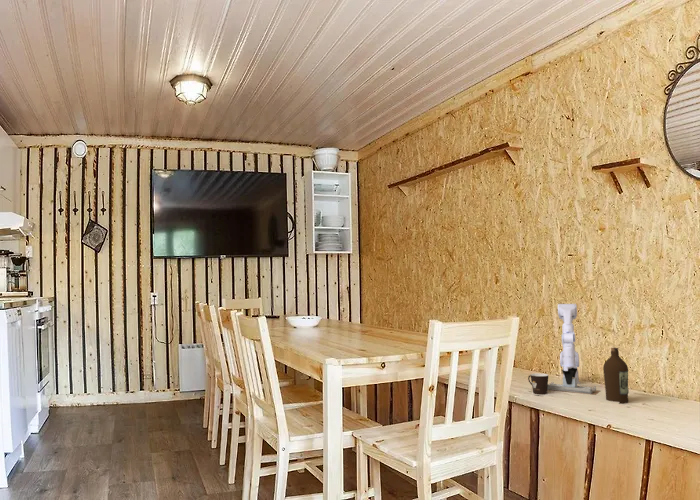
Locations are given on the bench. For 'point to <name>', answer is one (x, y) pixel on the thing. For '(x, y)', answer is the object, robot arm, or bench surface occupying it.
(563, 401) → the bench surface
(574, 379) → the block
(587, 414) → the bench surface
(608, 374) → the olive oil
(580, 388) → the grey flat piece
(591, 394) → the board
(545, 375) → the coffee mug
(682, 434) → the bench surface
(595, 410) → the bench surface
